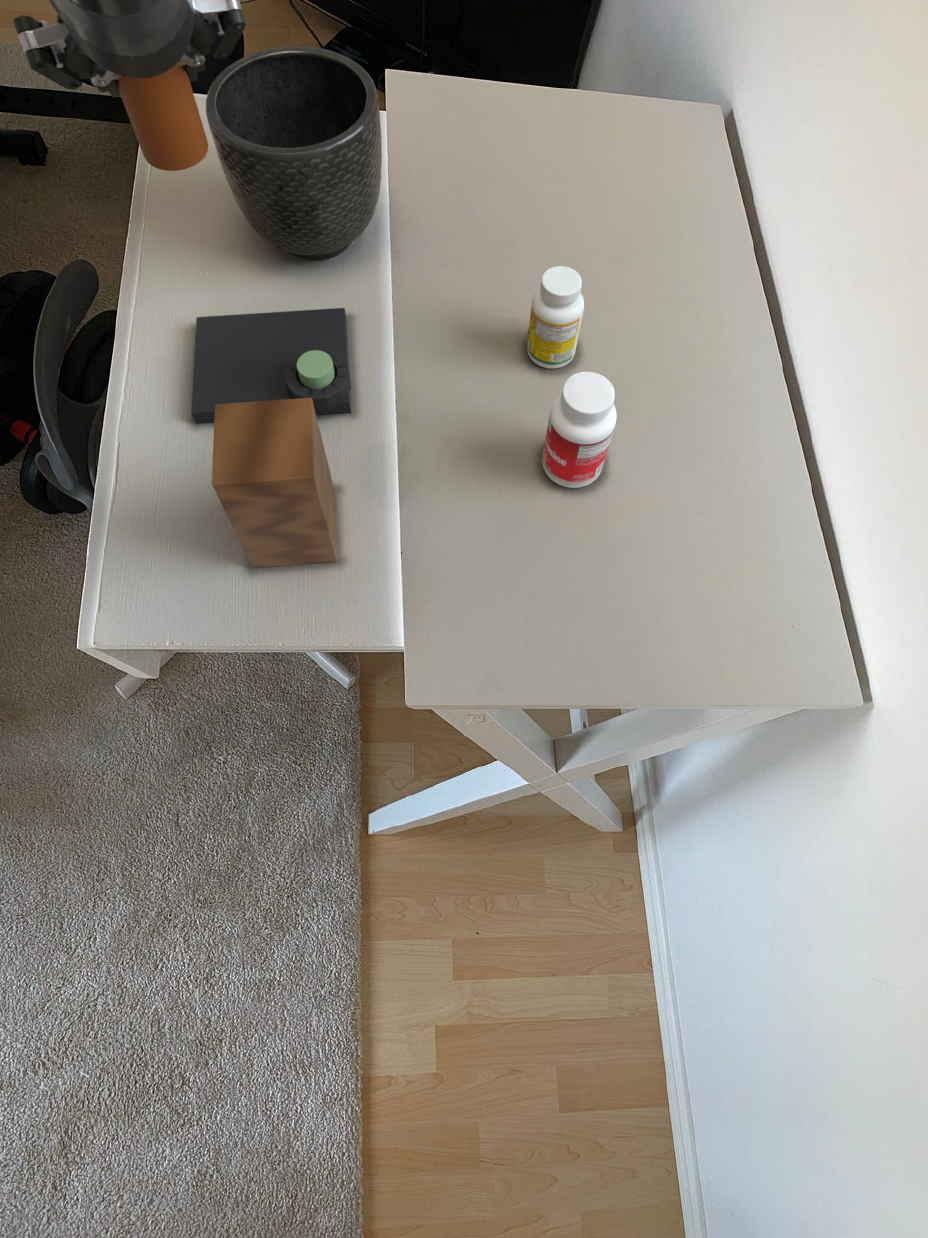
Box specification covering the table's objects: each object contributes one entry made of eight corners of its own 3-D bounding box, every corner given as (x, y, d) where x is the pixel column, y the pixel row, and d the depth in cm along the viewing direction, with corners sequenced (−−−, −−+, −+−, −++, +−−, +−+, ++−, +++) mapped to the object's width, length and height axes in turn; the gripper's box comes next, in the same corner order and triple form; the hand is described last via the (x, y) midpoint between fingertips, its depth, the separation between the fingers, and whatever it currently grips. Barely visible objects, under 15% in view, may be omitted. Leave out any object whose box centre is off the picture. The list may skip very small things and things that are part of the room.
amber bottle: (141, 172, 60) (85, 29, 51) (145, 129, 62) (92, -16, 53) (207, 169, 60) (163, 25, 51) (209, 126, 62) (168, -19, 53)
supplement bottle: (562, 377, 84) (575, 308, 76) (517, 358, 85) (525, 288, 77) (583, 343, 86) (597, 272, 78) (539, 325, 87) (548, 253, 79)
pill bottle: (534, 446, 81) (545, 370, 71) (591, 434, 81) (610, 358, 71) (551, 495, 78) (566, 425, 68) (610, 483, 79) (633, 412, 69)
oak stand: (252, 568, 75) (211, 485, 62) (253, 497, 78) (214, 403, 65) (337, 561, 75) (313, 477, 62) (334, 491, 78) (311, 397, 65)
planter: (363, 301, 89) (346, 169, 74) (220, 271, 90) (175, 135, 76) (407, 199, 95) (399, 60, 81) (274, 173, 97) (242, 31, 82)
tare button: (299, 390, 79) (296, 378, 78) (299, 363, 81) (296, 350, 79) (335, 388, 80) (333, 376, 78) (334, 360, 81) (332, 348, 79)
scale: (195, 429, 81) (185, 407, 78) (200, 328, 87) (191, 303, 83) (353, 418, 82) (349, 396, 79) (348, 318, 87) (344, 294, 84)
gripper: (222, -139, 42) (228, -7, 57) (-58, -92, 40) (27, 32, 55) (269, 27, 45) (262, 110, 60) (10, 80, 42) (72, 152, 58)
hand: (150, 72), depth 58 cm, fingers closed on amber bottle, 5 cm apart
